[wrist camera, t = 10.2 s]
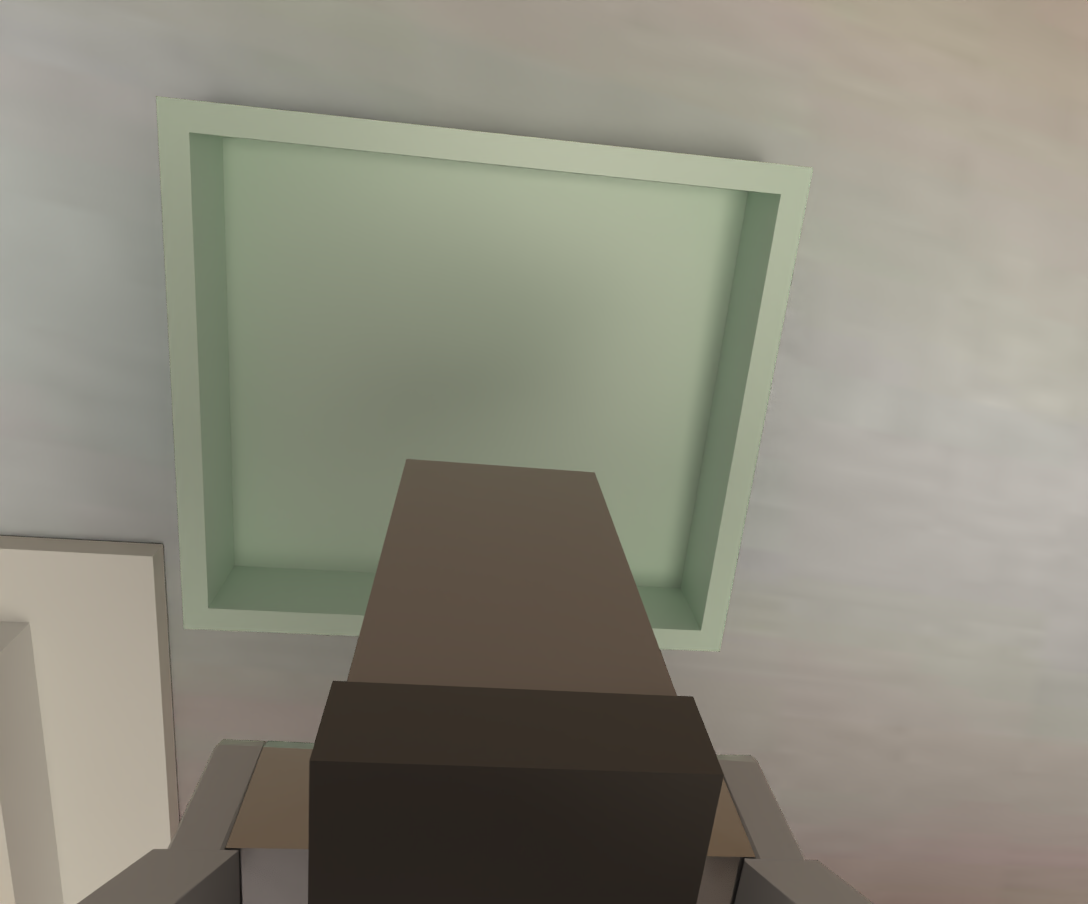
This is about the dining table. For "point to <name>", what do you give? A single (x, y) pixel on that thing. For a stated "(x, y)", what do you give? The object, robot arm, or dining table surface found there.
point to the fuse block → (82, 715)
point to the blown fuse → (507, 712)
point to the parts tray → (458, 346)
